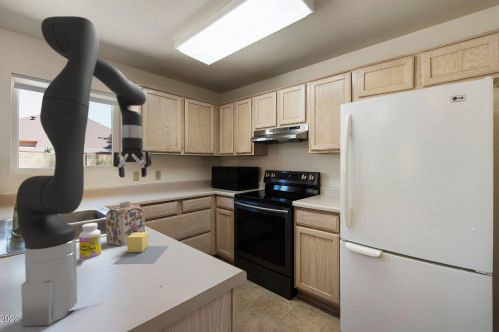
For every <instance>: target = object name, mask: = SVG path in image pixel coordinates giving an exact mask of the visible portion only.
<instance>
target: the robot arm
mask: <svg viewBox="0 0 499 332" xmlns="http://www.w3.org/2000/svg"><path fill="white" fill-rule="evenodd" d="M40 29H41V33H42V37H43V39H44V41H45V42H46V44H48V46H49V47H50V48H51V49H52V50H54V51H55V52H56V53H57V54H58V55H60V56H62V57H63V58H65V59H67V62H66V64H65V65H64V67H63V68H62V70H61V71H60V72H59V73H58V74H57V75H56V76H55V78H53V80H52V81H50V83H49V84H48V86H47V87H46V88H45V90H44V92H43V95H42V100H41V107H40V112H39V113H40V114H39V119H40V121H39V122H40V125H41V127H42V129H43V131H44V133H45V135H46V137H47V138H48V140H49V142H50V144H51V145H52V149H53V150H54V156H55V159H54V162H55V163H54V172H53V175H35V176H34V175H33V176H30V177H28V178H26V179H24V180H23V181H22V182H21V184H20V185H19V187H18V189H17V193H16V198H15V202H16V203H15V204H16V205H15V206H16V214H17V223H18V233H19V235H20V237H21V239H22V240H23V242H24V267H25V268H24V269H25V272H24V273H25V276H24V278H25V282H23V283H22V284H21V285H20V286H21V288H20V289H21V291H20V292H21V318H22V319H21V320H22V327H32V326H37V327H39V326H51V325H53V323H55V322H57V321H59V320H61V319H63V318H65V317H67V316H69V315H70V314H71V313H73V311H75V309H73V308H74V307H75V306H76V305H77V303H78V282H77V281H78V280H77V278H78V277H77V275H78V274H77V238H76V237H77V236H76V229H75V226H74V225H72V224H70V223H67V222H66V221H63V219H61V218H60V216H59V215H66V214H67V215H68V214H72V213H74V212H75V211H76V210H78V208H79V207H80V206H81V203H82V201H83V195H84V187H85V186H84V184H85V181H84V180H85V175H84V174H85V173H84V171H85V170H84V169H85V168H84V166H85V165H84V161H85V159H84V158H85V157H84V156H85V144H86V143H85V141H86V131H87V125H88V120H89V119H88V118H89V110H90V96H91V89H92V83H93V78H94V77H95V78H96V79H97V80H98V81H100V82H101V83H102V84H103V85H104V86H105V87H107V89H109V90H110V91H111V92H112V93H113V94H115V95H116V96H115V97H116V100H117V101H116V102H117V104H118V106H119V110H120V113H121V135H120V136H121V152H120V151H114V152H113V160H112V161H113V163H112V167H114V168H115V167H116V168H118V176H119V177H120V178H125V176H126V173H125V172H126V171H125V166H126V165H127V164H128V163H137V164H138V165H140V166H141V168H140V169H141V170H140V173H141V175H140V176H141V178H146V176H147V175H148V174H147V173H148V172H147V171H148V170H147V169H148V167H151V166H152V154H151V153H152V152H151V151H143V129H142V128H143V127H142V114H141V113H140V112H139V111H137V110H136V111H135V110H132V109H131V108H130V106H132V107H139V106H143V105H144V104H145V103H146V101H147V96H146V93H145V91H144V90H143V89H142V88H141V87H140V85H139V86H138V85H137V84H136V83H134V82H133V81H130V80H129V79H128V78H127V77H126V76H125V75H124V74H123V73H122V71H120V70H119V69H118V68H116V67H115V65H112V64H111V63H109V62H107V61H105V60H103V59H101V58H100V57H99V51H100V37H99V33H98V30H97V28H96V25H95V24H94V23H93V22H92V21H90V19H88V18H85V17H83V16H77V15H75V16H72V15H70V16H68V15H66V16H63V15H62V16H49V17H46V18H44V19H43V20H42V22H41V25H40ZM121 157H122V159H121ZM143 157H144V158H145V160H144V159H143Z"/></svg>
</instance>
